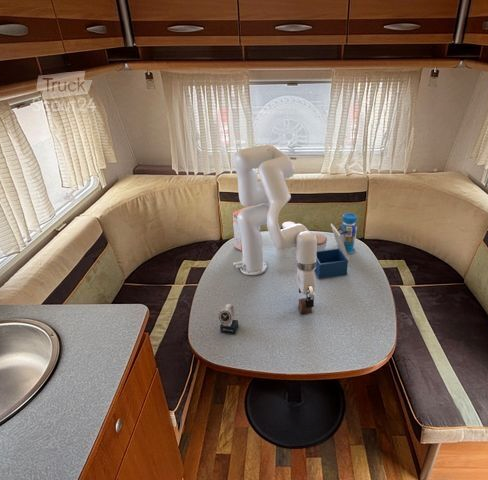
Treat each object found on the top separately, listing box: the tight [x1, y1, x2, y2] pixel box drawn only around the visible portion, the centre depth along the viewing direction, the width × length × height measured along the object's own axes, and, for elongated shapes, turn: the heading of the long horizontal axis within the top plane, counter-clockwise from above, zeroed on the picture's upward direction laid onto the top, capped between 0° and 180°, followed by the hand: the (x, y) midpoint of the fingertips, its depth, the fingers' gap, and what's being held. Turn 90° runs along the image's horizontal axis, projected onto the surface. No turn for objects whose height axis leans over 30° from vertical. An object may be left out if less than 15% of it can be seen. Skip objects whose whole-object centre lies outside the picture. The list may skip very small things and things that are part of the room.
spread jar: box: [280, 221, 296, 230], centre depth 192 cm, size 12×11×12 cm
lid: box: [330, 223, 350, 261], centre depth 164 cm, size 14×12×5 cm
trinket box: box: [313, 232, 328, 251], centre depth 183 cm, size 11×11×9 cm
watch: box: [218, 303, 239, 335], centre depth 133 cm, size 6×8×11 cm
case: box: [314, 247, 349, 280], centre depth 169 cm, size 14×12×8 cm
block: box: [298, 297, 313, 315], centre depth 145 cm, size 4×4×4 cm
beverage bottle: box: [339, 212, 358, 255], centre depth 181 cm, size 8×8×20 cm
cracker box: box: [232, 205, 262, 252], centre depth 187 cm, size 14×6×21 cm, turn 136°
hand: (306, 299), depth 143 cm, fingers open, 9 cm apart
